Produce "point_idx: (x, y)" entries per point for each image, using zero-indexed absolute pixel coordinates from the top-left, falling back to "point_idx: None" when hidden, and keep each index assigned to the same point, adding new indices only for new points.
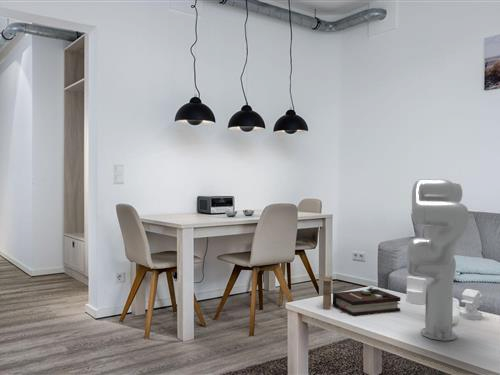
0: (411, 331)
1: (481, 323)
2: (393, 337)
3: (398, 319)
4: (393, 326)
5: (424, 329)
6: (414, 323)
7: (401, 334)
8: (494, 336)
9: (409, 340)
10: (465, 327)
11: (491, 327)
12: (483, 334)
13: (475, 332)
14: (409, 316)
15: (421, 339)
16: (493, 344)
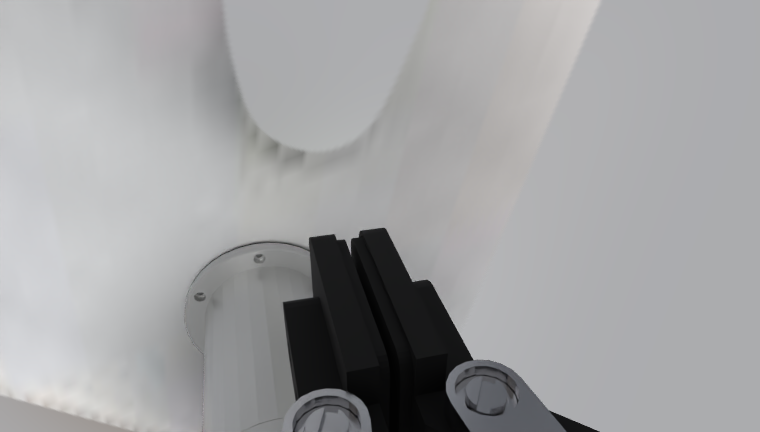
0: (137, 300)
1: (526, 22)
2: (66, 402)
3: (22, 116)
4: (26, 263)
5: (201, 302)
6: (139, 164)
7: (95, 355)
8: (504, 220)
9: (141, 403)
10: (416, 134)
11: (548, 85)
12: (467, 212)
13: (441, 197)
14: (85, 10)
15: (191, 374)
16: (462, 313)
